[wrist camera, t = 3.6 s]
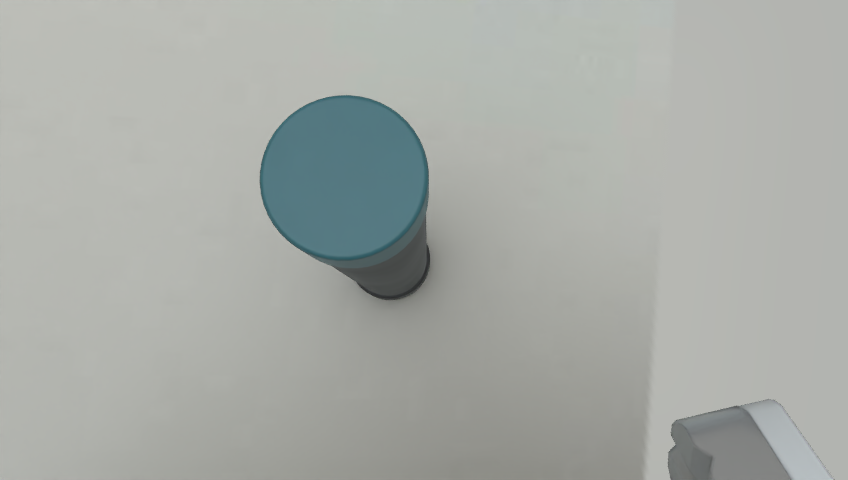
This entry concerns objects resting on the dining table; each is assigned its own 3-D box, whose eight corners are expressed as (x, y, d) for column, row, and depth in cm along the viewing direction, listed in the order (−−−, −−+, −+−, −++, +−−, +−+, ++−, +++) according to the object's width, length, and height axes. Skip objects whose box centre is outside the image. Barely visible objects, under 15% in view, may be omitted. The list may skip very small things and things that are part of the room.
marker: (437, 291, 23) (448, 243, 10) (360, 307, 23) (272, 280, 10) (421, 214, 23) (411, 74, 10) (344, 231, 23) (241, 110, 10)
